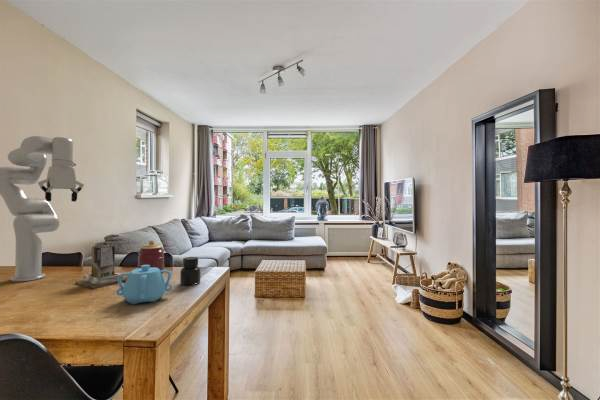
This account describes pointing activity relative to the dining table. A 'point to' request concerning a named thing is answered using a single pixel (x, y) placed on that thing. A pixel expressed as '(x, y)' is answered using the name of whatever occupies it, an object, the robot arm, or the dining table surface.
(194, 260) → the ink bottle
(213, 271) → the dining table surface
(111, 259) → the coffee box
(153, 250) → the canister
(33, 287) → the dining table surface
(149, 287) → the decorative pot
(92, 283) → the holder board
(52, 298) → the dining table surface
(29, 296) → the dining table surface
